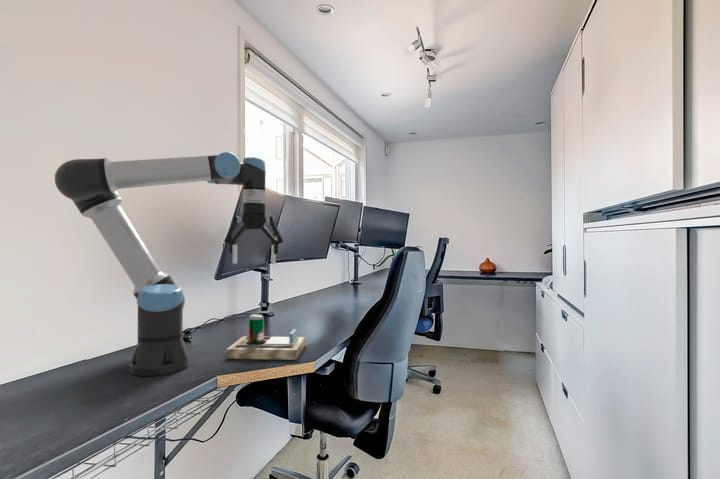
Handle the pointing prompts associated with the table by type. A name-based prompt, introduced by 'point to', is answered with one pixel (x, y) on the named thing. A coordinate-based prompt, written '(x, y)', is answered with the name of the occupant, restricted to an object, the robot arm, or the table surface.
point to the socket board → (265, 350)
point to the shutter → (284, 339)
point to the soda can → (256, 330)
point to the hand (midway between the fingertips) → (254, 263)
